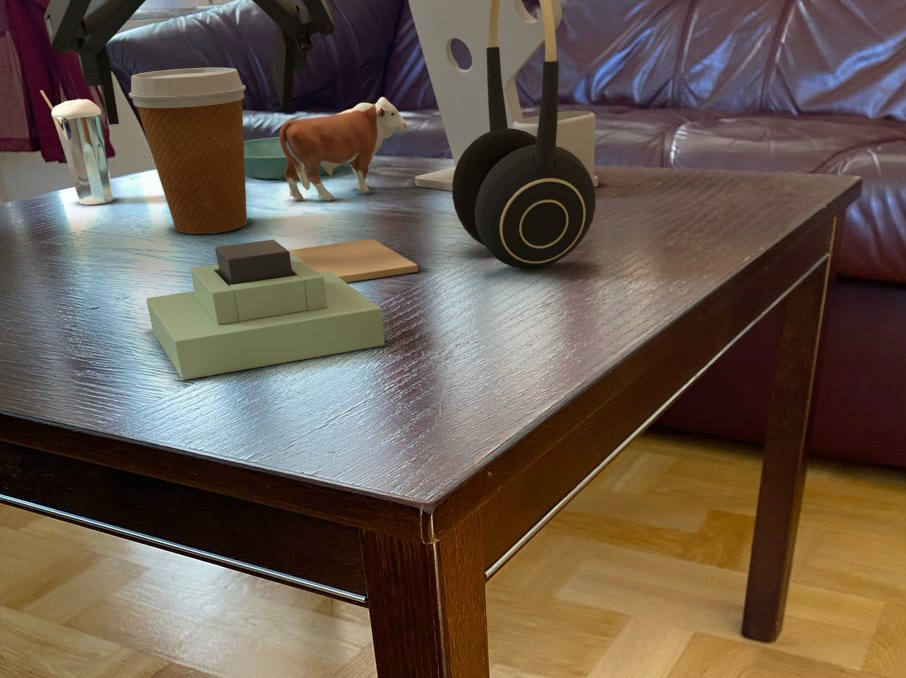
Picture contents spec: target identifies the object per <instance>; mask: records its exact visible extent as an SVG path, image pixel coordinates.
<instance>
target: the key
mask: <svg viewBox="0 0 906 678" xmlns="http://www.w3.org/2000/svg"><path fill="white" fill-rule="evenodd" d="M214 250H215V255H216V261H217V264H218V267H219V273H220V277H221V278H222V279H223V280H224V281H225V282H226V283H227V284H228V285H229V286H230V285H235V284H241V283H248V282H255V281H262V280H269V279H276V278H283V277H290V276H293V274H292V267H291V259H290V252H289V251H288V250H289V249H287V248H285V247H284V246H283V245H282V244H281V243H279V242H278V241H276V240H275V239H266V240H259V241H251V242H244V243H235V244H229V245H222V246H216V247H215V249H214Z"/></svg>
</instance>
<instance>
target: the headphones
mask: <svg viewBox="0 0 906 678" xmlns="http://www.w3.org/2000/svg"><path fill="white" fill-rule="evenodd" d="M499 6H500V0H491V2H490V12H489V26H488V48H486V50H487V83H488V108H489V124H490V132H488V133H485V134H483V135H481V136H480V137H479V138H477V139H476V140H475V141H473V142H472V143H471V144H470V145H469V147H468V148H467V149H466V150H465V151H464V152H463V154H462V156H461V157H460V159H459V161H458V163H457V166H456V169H455V171H454V176H453V182H452V191H451V197H452V203H453V208H454V211H455V213H456V215H457V218H458V221H459V222H460V224H461V226H462V227H463V228H464V230H465V231H466V232H467V234H468V235H469V236H470V237H471V238H472V239H474V241H476V242H478V244H480V245H482V246H484V247H485V249H486V250H487V251H488V252H489V254H491V255H492V256H493V257H494V258H495V259H496V260H497V261H499V262H501V263H502V264H504V265H507V266H509V267H511V268H516V269H521V270H535V269H539V268H544V267H547V266H551V265H552V264H555V263H556V262H558V261H560V260H562V259H563V258H565V257H567V256H568V255H569V254H570V253H571V252H573V251H574V250H575V249H576V248H577V247H578V246H579V244H580V243H582V242H583V240H584V238H585V236H586V235H587V233H588V232H589V230H590V227H591V225H592V223H593V220H594V215H595V211H596V202H597V201H596V200H597V199H596V198H597V197H596V191H595V187H594V184H593V181H592V179H591V176H590V174H589V172H588V171H587V169H586V168H585V166H584V165H583V163H582V162H581V161H580V159H578V158H577V157H576V156H575V155H574V154H573V153H571V152H569V151H567V150H565V149H564V148H561V147H557V146H556V137H557V116H558V112H559V65H560V64H559V63H560V62H559V60H558V59H557V40H556V29H555V26H554V18H553V11H552V5H551V0H540V2H539V6H540V12H541V11H542V18H543V27H544V37H545V42H544V48H545V51H544V52H545V53H544V60H543V62H542V82H541V99H540V106H539V107H540V108H539V115H538V116H539V123H538V131H537V137H536V136H534V135H532V134H530V133H528V132H526V131H522V130H518V129H512V128H508V125H507V117H506V109H505V102H504V94H503V86H502V78H501V65H500V49H499V47H498V40H497V34H498V16H499Z"/></svg>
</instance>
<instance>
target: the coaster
mask: <svg viewBox="0 0 906 678" xmlns="http://www.w3.org/2000/svg"><path fill="white" fill-rule="evenodd" d="M287 250H288V251H289V252H290V254H294V255H296V256H297V257H298V258H300V259H301V260H302V261H303V262H305V263H306V264H307V265H309V266H310V267H311V268H313V269H314V270H315V271H317V272H318V273H322V272H329V271H331V272H332V273H333V274H335V275H336V276H338V277H339V278H340V279H342V280H343V281H344V282H346V283H353V282H361V281H365V280H373V279H380V278H386V277H393V276H398V275H405V274H412V273H417V272H419V266H418V264H417V263H415V262H413V261H411V260H410V259H408V258H406V257H405V256H403V255H401V254H400V253H398V252H396V251H394V250H393V249H391V248H389V247H388V246H386V245H384V244H382V243H381V242H379V241H378V240H375V239H374V238H368V239H360V240H353V241H346V242H338V243H332V244H322V245H316V246H309V247H308V246H307V247H302V248H301V247H300V248H295V249H287Z"/></svg>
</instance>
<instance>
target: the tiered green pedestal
mask: <svg viewBox="0 0 906 678" xmlns="http://www.w3.org/2000/svg"><path fill="white" fill-rule="evenodd" d="M290 259H291V267H292V274H293V276H290V277H283V278H276V279H269V280H262V281H255V282H248V283H241V284H235V285H230V286H229V285H228V284H227V283H226V282H225V281H224V280H223V279H222V278H221V277H220V273H219V267H218V263H217V264H210V265H203V266H196V267H195V266H194V267H190V268H189V271H190V276H191V280H192V286H193V290H191V291H185V292H179V293H172V294H166V295H165V294H164V295H158V296H152V297H145V300H146V306H147V311H148V315H149V319H150V325H151V328H152V329H151V330H152V333H153V335H154V337H155V338H156V340H157V341H158V343H159V344H160V346H161V347H162V349H163V351H164V352H165V354H166V355H167V357H168V359H169V360H170V362H171V363H172V365H173V367H174V368H175V370H176V371H177V373H178V375H179V376H180V378H181V379H182V380H183V381H186V380H192V379H198V378H204V377H209V376H215V375H222V374H226V373H232V372H238V371H244V370H249V369H256V368H261V367H267V366H273V365H278V364H284V363H289V362H290V363H291V362H295V361H296V362H297V361H301V360H307V359H313V358H318V357H326V356H330V355H337V354H343V353H347V352H354V351H359V350H364V349H365V350H366V349H372V348H377V347H382V346H385V344H386V343H385V334H384V333H385V331H384V322H383V321H384V320H383V311H382V310H383V309H382V308H381V307H380V306H379V305H377V304H376V303H375V302H373V301H372V300H370V299H369V298H368V297H366V295H364V294H362V293H361V292H360V291H358V290H357V289H355V288H354V287H353V286H352V285H350V284H349V283H348V282H344V281H343V280H342V279H340V278H339V277H338V276H336V275H335V274H333V273H332V272H331V271H329V272H322V273H318V272H317V271H315V270H314V269H313V268H311V267H310V266H309V265H307V264H306V263H305V262H303V261H302V260H301V259H300V258H298V257H297V256H296V255H294V254H290Z"/></svg>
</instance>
